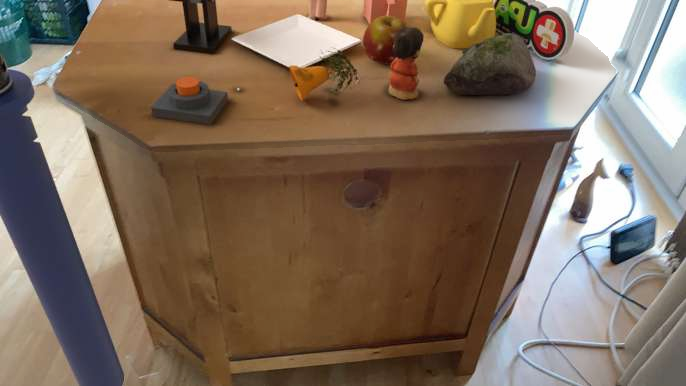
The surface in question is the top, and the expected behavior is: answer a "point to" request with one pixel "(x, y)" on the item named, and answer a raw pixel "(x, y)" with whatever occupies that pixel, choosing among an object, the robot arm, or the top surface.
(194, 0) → the switch lever
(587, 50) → the top surface
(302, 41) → the plate
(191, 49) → the switch bracket
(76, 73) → the top surface
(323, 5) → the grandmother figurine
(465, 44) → the teapot
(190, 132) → the top surface
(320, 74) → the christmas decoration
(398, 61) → the figurine
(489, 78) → the stone
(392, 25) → the fruit
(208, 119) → the control block
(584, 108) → the top surface
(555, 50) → the sign
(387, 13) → the pink blocky piece
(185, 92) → the button
